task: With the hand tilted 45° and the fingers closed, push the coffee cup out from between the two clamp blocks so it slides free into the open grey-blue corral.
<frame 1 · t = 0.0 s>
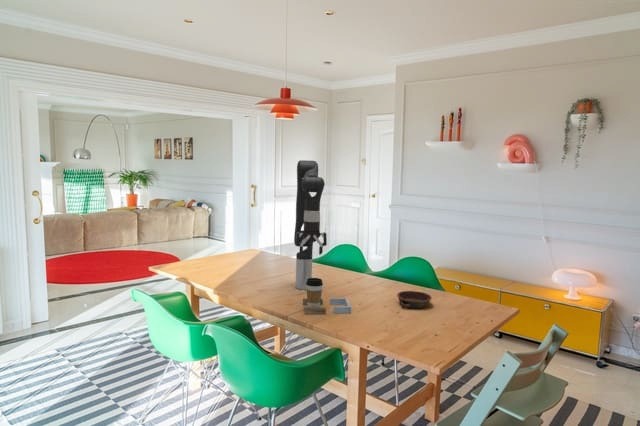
hand: (310, 254, 205), 29 cm above the table, tool pointing down, fingers open, 8 cm apart
corral: (339, 308, 219), on the table
coffee cup: (313, 308, 218), on the table
dish: (413, 305, 229), on the table
clamp blocks: (313, 308, 218), on the table
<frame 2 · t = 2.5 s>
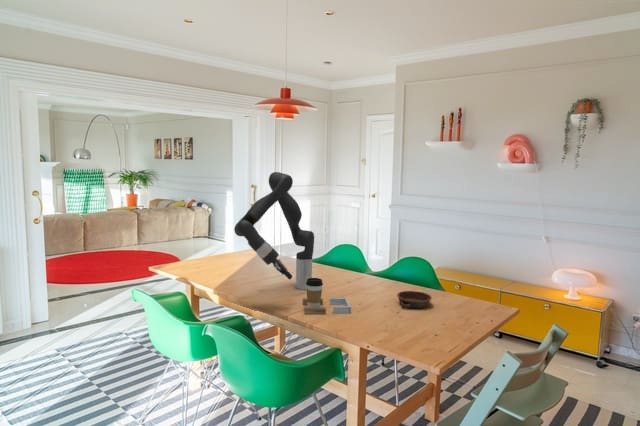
hand: (291, 277, 215), 16 cm above the table, tool tilted 45°, fingers closed
nothing on the table moved.
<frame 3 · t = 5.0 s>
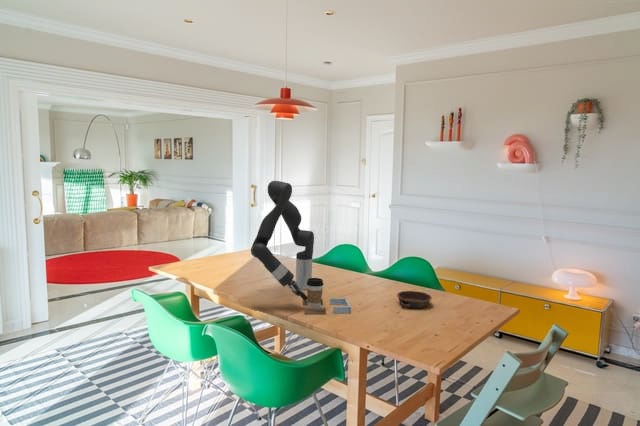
hand: (306, 298, 217), 5 cm above the table, tool tilted 45°, fingers closed
coffee cup: (314, 308, 218), on the table, touching gripper
everything else where it was.
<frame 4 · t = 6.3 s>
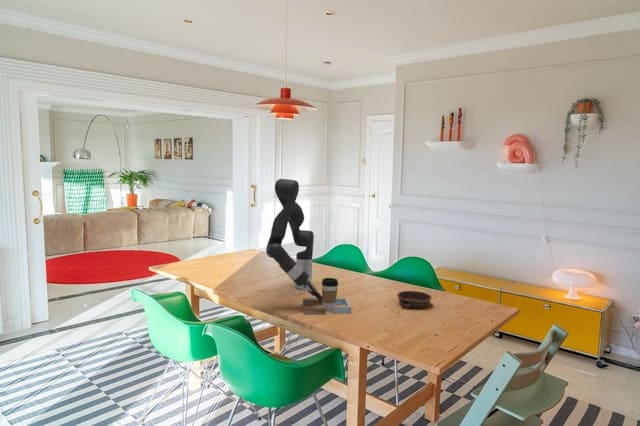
hand: (321, 299, 217), 5 cm above the table, tool tilted 45°, fingers closed
coffee cup: (329, 308, 219), on the table, touching gripper
everything else where it was.
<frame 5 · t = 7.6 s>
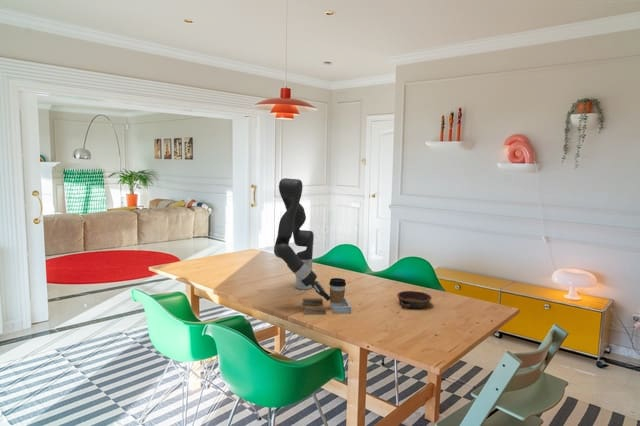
hand: (329, 299, 218), 5 cm above the table, tool tilted 45°, fingers closed
coffee cup: (336, 308, 219), on the table, touching gripper
everything else where it was.
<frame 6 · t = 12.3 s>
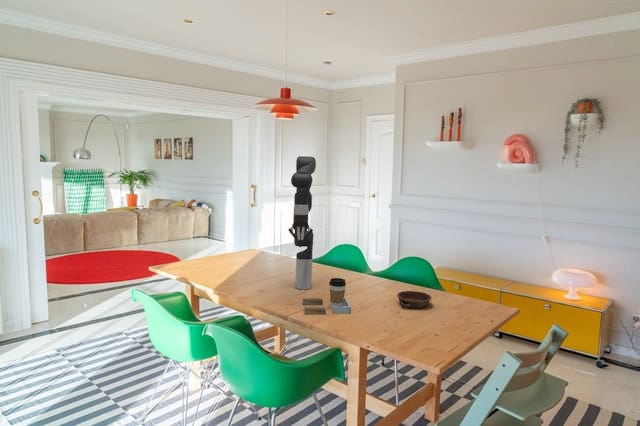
hand: (300, 246, 224), 29 cm above the table, tool pointing down, fingers closed
coffee cup: (336, 308, 219), on the table
everything else where it was.
at the end: coffee cup inside the target area (1.0 cm from its centre), on the table; coffee cup tilted 0° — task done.
